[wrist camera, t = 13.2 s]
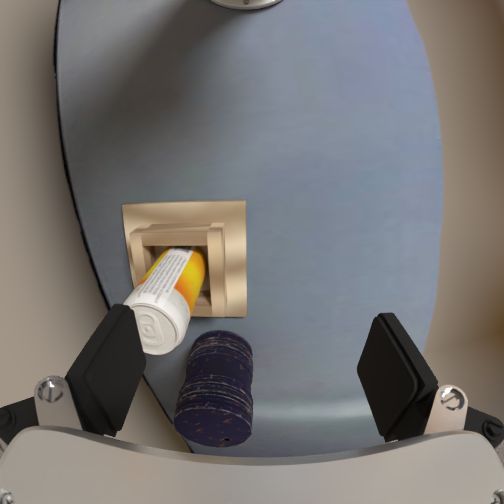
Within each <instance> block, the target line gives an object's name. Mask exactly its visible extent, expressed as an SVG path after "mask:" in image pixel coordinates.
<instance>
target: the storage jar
mask: <svg viewBox="0 0 504 504" xmlns="http://www.w3.org/2000/svg"><path fill="white" fill-rule="evenodd" d="M252 378H253V361H252V349H251V347H250V345H249V343H248V342H247V341H246V340H245V339H244V338H243V337H241V336H239V335H237V334H235V333H233V332H229V331H224V330H214V331H209V332H206V333H204V334H202V335H201V336H199V337H198V338H197V339H196V340H195V342H194V344H193V347H192V351H191V353H190V355H189V359H188V363H187V368H186V379H185V383H184V384H183V386H182V388H181V389H180V392H179V397H178V400H177V404H176V411H175V415H174V419H173V425H174V428H175V430H176V431H177V432H178V433H179V434H180V435H181V436H183V437H184V438H185V439H187V440H189V441H191V442H194V443H196V444H199V445H203V446H208V447H217V448H224V447H232V446H237V445H240V444H242V443H244V442H246V441H247V440H248V439H249V438H250V437H251V435H252V419H253V399H252V395H251V383H252Z"/></svg>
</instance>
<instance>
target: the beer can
mask: <svg viewBox="0 0 504 504" xmlns="http://www.w3.org/2000/svg"><path fill="white" fill-rule="evenodd" d="M206 272H207V260H206V258H205V255H204V254H203V252H202V251H201V250H200V249H199V248H198V247H196V246H169V247H167V248H166V250H165V251H164V252H163V253H162V255H161V256H160V257H159V258H158V259H157V261H156V262H155V263H154V264H153V266H152V267H151V268H150V270H149V271H148V272H147V273H146V275H145V276H144V277H143V278H142V280H141V281H140V282H139V284H138V285H137V286H136V288H135V289H134V290H133V291H132V293H131V294H130V295H129V297H128V298H127V299H126V301H125V302H124V304H123V305H128V306H129V307H130V309H133V310H134V313H135V317H136V322H137V326H138V331H139V335H140V339H141V343H142V347H143V351H144V352H145V353H148V354H153V355H161V354H166V353H168V352H170V351H171V350H173V349H174V348H175V347H176V346H177V345H179V344H180V343H181V342H182V340H183V338H184V336H185V333H186V330H187V327H188V324H189V321H190V318H191V315H192V312H193V309H194V306H195V304H196V301H197V298H198V295H199V292H200V289H201V286H202V284H203V281H204V278H205V275H206Z"/></svg>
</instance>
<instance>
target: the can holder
mask: <svg viewBox="0 0 504 504" xmlns="http://www.w3.org/2000/svg"><path fill="white" fill-rule="evenodd" d="M122 211H123V220H124V228H125V236H126V243H127V250H128V256H129V263H130V268H131V274H132V280H133V285H134V289H135V288H136V286H137V285H138V284H139V282H140V281H141V280H142V278H143V277H144V276H145V275H146V273H147V272H148V271H149V270H150V268H151V267H152V266H153V264H154V263H155V262H156V261H157V259H158V258H159V257H160V256H161V255H162V253H163V252H164V251H165V250H166V248H167V247H169V246H196V247H198V248H199V249H200V250H201V251H202V252H203V254H204V255H205V258H206V260H207V272H206V275H205V278H204V281H203V284H202V286H201V289H200V292H199V295H198V298H197V301H196V304H195V306H194V309H193V312H192V315H191V316H202V317H247V280H246V200H213V201H176V202H153V203H134V204H124V205H122Z"/></svg>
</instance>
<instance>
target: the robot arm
mask: <svg viewBox="0 0 504 504" xmlns="http://www.w3.org/2000/svg"><path fill="white" fill-rule="evenodd" d="M211 1H212V2H214V3H216V4H218V5H220V6H224V7H227V8H232V9H243V10H250V9H259V8H263V7H268V6H270V5H273V4H276V3H278V2H279V1H281V0H211ZM245 4H247V5H245ZM145 366H146V359H145V355H144V351H143V347H142V343H141V339H140V335H139V331H138V326H137V322H136V317H135V313H134V310H133V309H130V307H129V306H128V305H122V304H114V305H113V306H112V308H111V309H110V311H109V312H108V313H107V315H106V316H105V317H104V319H103V320H102V322H101V323H100V324H99V326H98V327H97V329H96V330H95V332H94V333H93V335H92V336H91V337H90V339H89V340H88V342H87V343H86V345H85V346H84V348H83V349H82V351H81V352H80V354H79V355H78V357H77V358H76V360H75V362H74V363H73V365H72V366H71V368H70V369H69V371H68V372H67V375H66V376H65V378H62V377H60V376H48V377H46V378H44V379H42V380H41V381H39V383H38V384H37V385H36V387H35V390H34V397H31V398H28V399H25V400H22V401H19V402H16V403H13V404H10V405H7V406H4V407H1V408H0V504H504V425H503V423H502V422H501V421H500V420H499V419H497V418H496V417H493V416H491V415H488V414H485V413H483V412H480V411H478V410H475V409H473V408H471V407H468V399H467V397H466V395H465V393H464V392H463V391H462V390H461V389H459V388H458V387H456V386H453V385H444V386H442V387H440V388H439V387H438V385H437V384H438V381H437V379H436V377H435V376H434V374H433V373H432V371H431V369H430V367H429V366H428V364H427V363H426V361H425V359H424V358H423V356H422V355H421V353H420V352H419V350H418V349H417V347H416V345H415V344H414V342H413V341H412V339H411V338H410V336H409V335H408V333H407V332H406V330H405V329H404V328H403V326H402V325H401V323H400V322H399V320H398V319H397V317H396V316H395V315H394V313H380V314H378V316H377V317H375V318H374V319H373V322H372V325H371V329H370V332H369V335H368V338H367V340H366V343H365V346H364V349H363V352H362V355H361V357H360V360H359V363H358V366H357V373H358V376H359V378H360V381H361V384H362V386H363V389H364V392H365V394H366V397H367V400H368V403H369V405H370V408H371V411H372V414H373V417H374V420H375V422H376V425H377V428H378V431H379V434H380V435H381V436H384V439H385V442H389V441H393V440H397V439H398V441H396V442H392V443H388V444H383V445H378V446H373V447H368V448H363V449H357V450H351V451H345V452H338V453H330V454H322V455H311V456H298V457H277V458H245V457H224V456H211V455H200V454H191V453H184V452H176V451H170V450H164V449H158V448H153V447H148V446H143V445H139V444H134V443H129V442H125V441H120V440H116V439H113V438H109V437H105V436H103V435H104V434H106V435H109V436H113V437H115V436H116V433H117V431H120V430H121V429H122V427H123V424H124V421H125V418H126V416H127V413H128V410H129V408H130V405H131V402H132V400H133V397H134V395H135V392H136V389H137V387H138V384H139V381H140V379H141V377H142V374H143V372H144V369H145Z"/></svg>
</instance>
